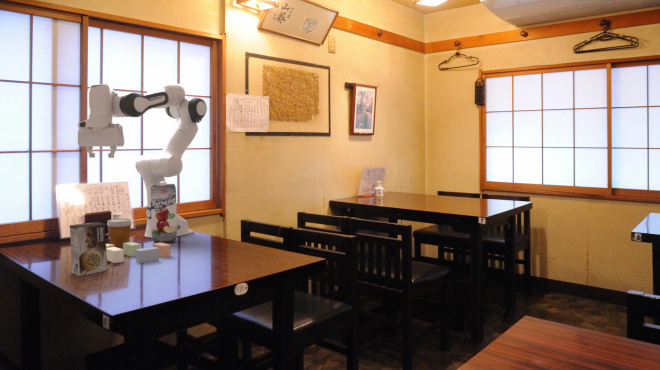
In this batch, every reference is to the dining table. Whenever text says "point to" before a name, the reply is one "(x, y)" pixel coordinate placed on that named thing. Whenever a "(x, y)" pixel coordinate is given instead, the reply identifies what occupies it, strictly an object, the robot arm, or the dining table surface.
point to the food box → (88, 248)
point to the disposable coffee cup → (119, 231)
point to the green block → (130, 248)
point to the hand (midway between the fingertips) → (101, 157)
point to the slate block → (147, 254)
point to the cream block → (115, 254)
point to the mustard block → (109, 245)
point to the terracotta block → (163, 249)
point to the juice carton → (163, 213)
